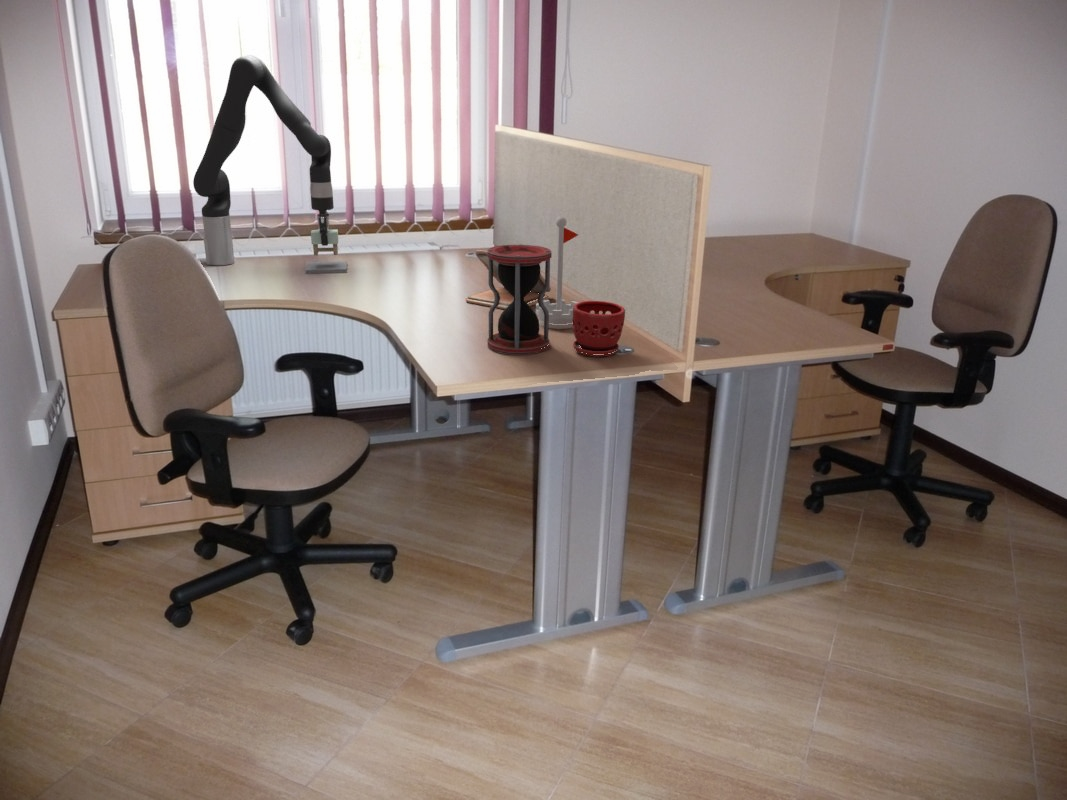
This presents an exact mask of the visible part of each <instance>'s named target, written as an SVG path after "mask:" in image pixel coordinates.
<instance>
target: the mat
mask: <svg viewBox="0 0 1067 800" xmlns="http://www.w3.org/2000/svg"><path fill="white" fill-rule="evenodd" d="M304 271H305V275H307V274H309V275H310V274H337V273H339V274H342V273H347V272H348V260H347V261H346V260H342V261H341V260H338V261H337V260H336V261H335V260H334V261H307V263H306V266H305V270H304Z"/></svg>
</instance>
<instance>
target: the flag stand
mask: <svg viewBox="0 0 1067 800" xmlns="http://www.w3.org/2000/svg"><path fill="white" fill-rule="evenodd" d="M555 224H556V226H557V230H558V233H557V259H556V260H557V263H556V265H557V266H556V268H557V269H556V297H555V298H556V301H555V303H553V302H552V303H551V301H550V299H548V300H544V301H543V302H544V306H545V307H546V308H547V310H548V313H549V323H553V324H567V323H572V322H573V306H574V305H575V304H577V303H579V302H578V301H574V300H571V301H570V303H566V299H563V276H564V275H563V268H564V244H565V243H567V242H569V241H571V240H572V239H574V238H576V237H578V236H579V233H576V232H574V231H572V230H570V229H568V228H566V226H567V224H568V223H567V219H566V218H565V217H564V216H558V217H557V218H556V220H555ZM535 313H536V315H537V317H538V320H539V319H540V320H541V321H543V322H544V312H543V310H542V308H541V307H540V306H539V303H537V304H535ZM540 320H539V326H542V327H544V323H543V322H541V321H540ZM571 328H572V329H573V324H568V325H552V324H549V329H555V330H556V329H558V330H559V329H560V330H561V329H562V330H563V329H571Z"/></svg>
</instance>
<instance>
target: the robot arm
mask: <svg viewBox="0 0 1067 800" xmlns="http://www.w3.org/2000/svg"><path fill="white" fill-rule="evenodd" d="M253 87H256V88H257V89H258V90H259V91H260V92H261V93H262V94H263V95H264V96H265V97H266V99H268V101H269V103H270V104H271V105H272V108H273V110H274V112H275V114H276V115H277V117H278V118H279V120H280V121H281V122H282V124H283V125H284V126H285V127H287V129H288V130H289V131H290V132H291V133H292V135H294V137H295V138H296V139H297V141H298V142H299V144H300V146H301V147H302V148H303V149H304V151H305V152H306V153H307V154H309V156H310V157H311V164H310V166H309V181H310V182H309V184H310V185H309V193H310V206H311V210H313V211H318V212H319V213H317V216H316V218H317V221H318V222H317V223H318V224H317V225H318V228H319V229H318V230H320V231H319V232H320V235H321V244H320V245H321V246H322V247H323V246H328V245H329V244H328V237H327V235H328V231H327V230H330V229H329V227H330V213H329V212H328V211H331V210H333V209H334V196H333V195H334V194H333V193H334V192H333V185H332V176H331V173H332V172H331V158H332V147H331V142H330V141H329V138H328V137H326V135H323V134H319V133H317V132H316V130H315V129H314V128H313V127H312V125H311V122H310V120H309V119H308V118H307V116H305V114H304V113H303V112H302V111H301V110H300V109H299V108H298V106H296V104H295V103H294V102H293V100H291V99H290V98H289V96H288V94H287V93H286V92H285V91H284V90H283V89H282V87H281V85H280V84H279V82H278V81H277V80H276V79H275V77H274V75H273V74H272V72H271V71H270V69H269V68H268V66H267V65H266V64H265V63H264V61H263V60H262V59H261V58H259V57H258V56H257V55H250V54H249V55H244V56H240V57H238V58H236V59H235V60H234V61H233V62H232V65H231V67H230V72H229V77H228V82H227V86H226V90H225V94H224V97H223V99H222V101H221V105H220V108H219V111H218V113H217V115H216V117H215V121H214V125H213V127H212V130H211V134H210V138H209V140H208V142H207V146H206V148H205V152H204V154H203V156H202V158H201V161H200V163H199V165H198V167H197V170H196V171H195V174H194V176H193V180H192V182H193V189H194V191H195V193H196V194H197V195H198V196H200V197H203V198H207V200H206V203H205V204H204V205H203V206H202V208H201V215H202V224H203V234H204V238H203V245H204V250H205V251H204V252H205V260H206V262H205V263H206V265H207V266H228V265H232V264H235V254H234V243H233V234H232V233H233V232H232V227H231V225H232V224H231V217H230V209H231V206H232V205H231V203H232V202H231V187H230V185H231V184H230V180H229V177H228V175H227V174H226V172H225V171H224V170H223V169H222V167H223V165H224V163H225V162H226V160H227V159H228V158H229V157H230V156H231V155H232V153H233V152H234V151H235V150H236V148H237V147H238V145H239V143H240V141H241V139H242V136H243V133H244V130H245V126H246V120H247V119H246V107H247V102H248V99H249V96H250V94H251V93H252V90H253Z"/></svg>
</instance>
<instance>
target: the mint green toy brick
mask: <svg viewBox="0 0 1067 800" xmlns="http://www.w3.org/2000/svg"><path fill="white" fill-rule="evenodd" d="M319 231H320V229H312V230H311V231H310V239H311V241H310V242H311V245H312V248H313V256H319V252H320V253H321V252H322V253H325V252H330V253H331V252H333V253H332V254H333V255H334V256H337V255H338V253H339V250H338V249H339V246H338V244H339V229H329V230H327V231H328V235H327V237H328V245H332V247H319V245H322V244H321V235H320V232H319Z"/></svg>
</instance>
